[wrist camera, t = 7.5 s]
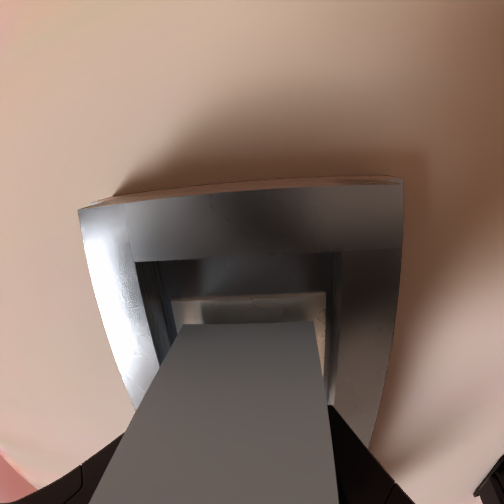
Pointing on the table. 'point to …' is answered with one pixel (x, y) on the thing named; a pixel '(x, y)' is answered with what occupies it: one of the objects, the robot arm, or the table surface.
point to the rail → (254, 273)
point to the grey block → (229, 423)
